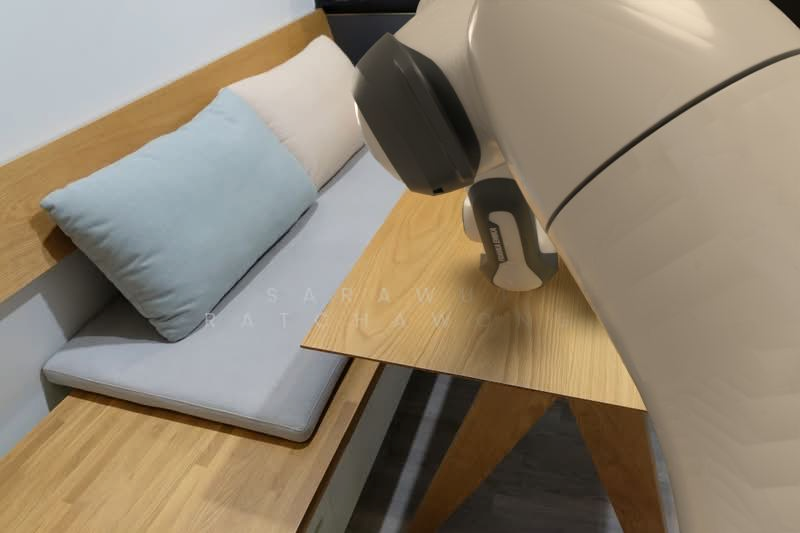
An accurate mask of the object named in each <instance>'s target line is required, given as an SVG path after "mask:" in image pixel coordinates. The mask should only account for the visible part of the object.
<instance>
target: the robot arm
mask: <svg viewBox="0 0 800 533" xmlns="http://www.w3.org/2000/svg"><path fill="white" fill-rule="evenodd" d="M350 93H351V96H352V98H353V100H354V112H355V117H356V122H357V127H358V129H359V133H360V134H361V137H362V139H363V142H364V144H365V146H366V147H367V149H368V151H369V152H370V154H371V156H372V157H373V158H374V159H375V161H376V162H377V163H378V164H379V165H380V167H381V168H382V169H383V170H385V171H386V172H387V173H388V175H390V176H391V177H393V178H394V179H395V180H397V181H399V182H400V183H402V184H404V185H405V186H406V188H407V189H408V190H409V191H410V192H411V193H416V194H421V195H426V196H431V197H437V196H441V195H445V194H448V193H452V192H456V191H459V190H462V189H464V190H465V192H466V195H465V197H464V200H463V201H462V208H461V209H462V211H461V217H462V219H461V220H462V226H463V232H464V234H465V235H466V238H467V239H468V240H469V241H471V242H473V243H474V242H475V243H478V244H481V253H480V254H479V266H478V270H479V271H480V272H481V274H482V275H483V276H484V277H485V278H486V279H487V281H489V283H491V285H493V286H494V287H496V288H498V289H502V290H505V291H512V292H530V291H534V290H539V289H541V288H542V287H544V286H545V285H546V284H547V283H548V282H550V281H551V280H552V278H553V277H554V276H555V275H557V273H558V272H559V270H560V269H559V257H560V258H561V260H562V261H563V263H564V265H565V266H566V268H567V270H568V271H569V273H570V274H571V276H572V278H573V280H574V281H575V282H576V285H577V286H578V288H579V289H580V291H581V293H582V294H583V296H584V299H586V302H587V303H588V305H589V306H590V308H591V309H592V311H593V313H594V314H595V316H596V318H597V320H598V321H599V323H600V325H601V326H602V329H603V330H604V332H605V334H606V336H607V337H608V339H609V341H610V343H611V344H612V346H613V348H614V350H615V352H616V353H617V355H618V357H619V359H620V360H621V362H622V364H623V366H624V367H625V369H626V371H627V373H628V375H629V377H630V378H631V380H632V382H633V384H634V386H635V388H636V390H637V392H638V394H639V396H640V399H641V401H642V404H643V406H644V408H645V410H646V412H647V415H648V417H649V419H650V422H651V424H652V427H653V429H654V433H655V436H656V439H657V442H658V445H659V448H660V450H661V453H662V456H663V460H664V465H665V468H666V472H667V476H668V479H669V484H670V488H671V493H672V499H673V504H674V508H675V514H676V519H677V524H678V532H679V533H800V27H798V26H797V25H796V24H795V23H794V21H793V20H791V19H790V18H789V17H788V16H787V15H786V14H785V13H784V12H783V11H782V10H781V9H780V8H778V7H777V6H776V5H775V4H774V3H773V2H772V1H770V0H419V2H418V5H417V8H416V12H415V15H414V16H413V17H412V18H410V19H409V20H408V21H407V22H406V23H405V24H404V25H403V26H402V27H401V28H399V30H397V31H396V32H394V34H392V33H391V32H388V31H387V32H386V33H385V34H384V35H382V36H381V37H380V38H379V39H378V40H376V42H375V43H374V44H373V45H372V46H371V47H370V48H369V49H368V50H367V51H366V52H365V54H364V55H363V56H362V57H361V58H360V59H359V60H358V62H357V63H356V65H355V66H354V70H353V76H352V81H351V85H350Z"/></svg>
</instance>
